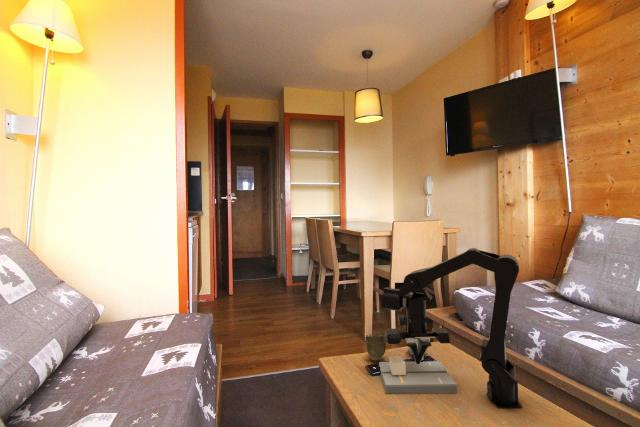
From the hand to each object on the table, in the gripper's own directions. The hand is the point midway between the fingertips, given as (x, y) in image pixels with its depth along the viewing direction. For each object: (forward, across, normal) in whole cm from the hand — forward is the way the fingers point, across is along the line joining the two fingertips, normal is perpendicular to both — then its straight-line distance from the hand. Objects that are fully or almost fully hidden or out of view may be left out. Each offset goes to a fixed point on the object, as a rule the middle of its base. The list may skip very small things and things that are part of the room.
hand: (417, 363), depth 101 cm
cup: (+6, +11, -14) cm, 19 cm away
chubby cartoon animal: (+6, -4, -16) cm, 18 cm away
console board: (+5, +1, 0) cm, 5 cm away
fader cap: (+3, +6, 0) cm, 7 cm away
